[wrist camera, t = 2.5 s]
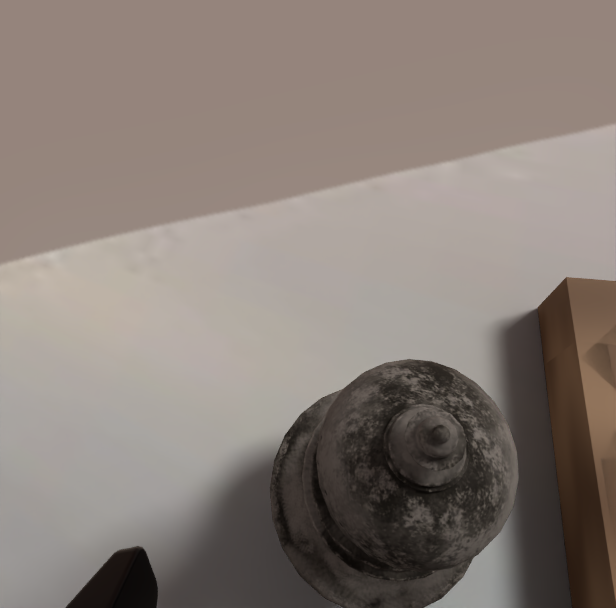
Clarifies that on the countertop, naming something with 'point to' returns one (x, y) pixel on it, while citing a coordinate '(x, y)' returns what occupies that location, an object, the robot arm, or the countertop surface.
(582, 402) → the bore block
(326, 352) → the countertop surface
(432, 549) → the grey chess piece
